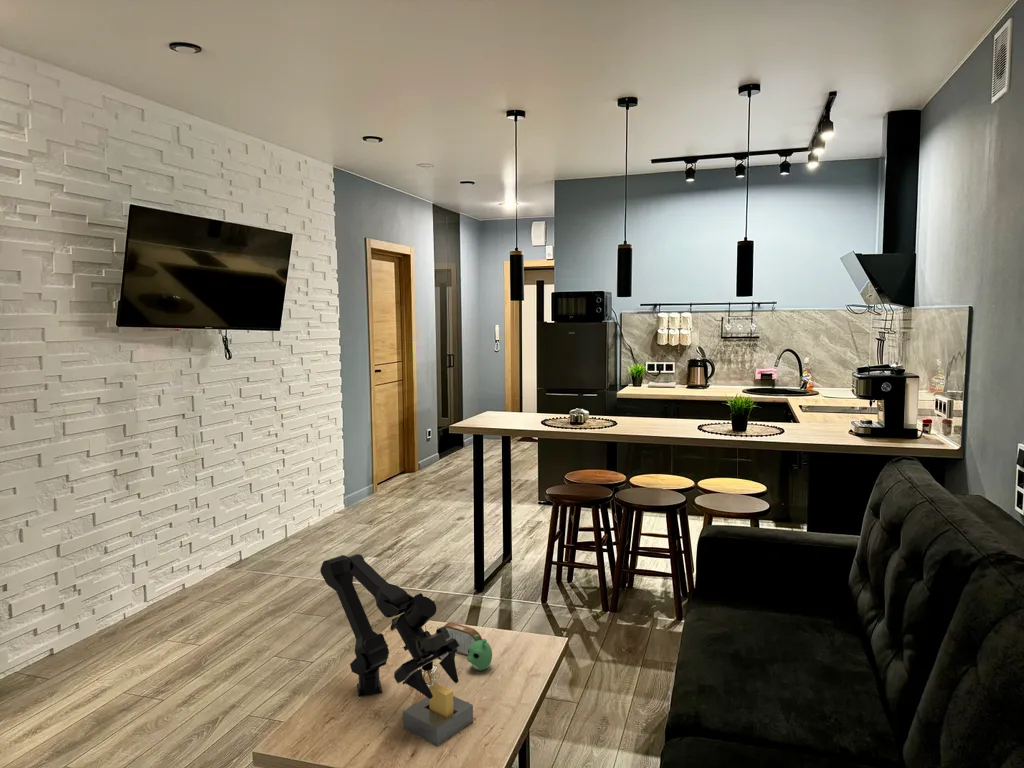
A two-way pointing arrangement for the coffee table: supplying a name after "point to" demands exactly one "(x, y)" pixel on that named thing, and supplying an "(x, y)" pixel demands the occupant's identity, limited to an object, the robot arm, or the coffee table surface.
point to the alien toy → (479, 654)
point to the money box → (437, 720)
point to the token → (441, 700)
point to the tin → (462, 636)
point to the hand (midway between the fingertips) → (444, 690)
